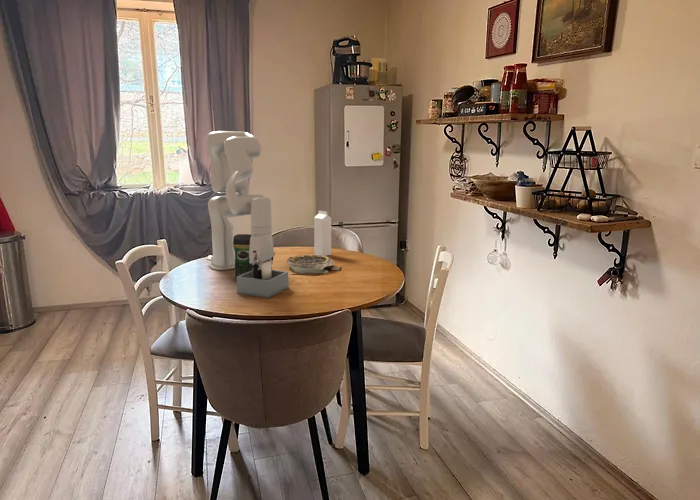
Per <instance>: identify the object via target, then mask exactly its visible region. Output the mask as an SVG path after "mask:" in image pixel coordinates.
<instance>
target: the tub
mask: <svg viewBox="0 0 700 500" xmlns="http://www.w3.org/2000/svg"><path fill="white" fill-rule="evenodd" d="M236 278H237V280H236V294H238V293H239V295H245V296H252V297H259V298H266V299H270V298H272V297H274V296H277V295H278V294H280V293H282V292H284V291H286V290H287V289H289V287H290V285H289V284H290V283H289V271H284V270H278V269H277V270H276V269H272V279H270V280H263V279H255V278H254V270H251V271H249V272H247V273H244V274H242V275H240V276H237V277H236Z"/></svg>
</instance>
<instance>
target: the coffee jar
mask: <svg viewBox="0 0 700 500" xmlns="http://www.w3.org/2000/svg"><path fill="white" fill-rule="evenodd" d="M250 238H251V234H249V233H248V234H246V233H245V234H244V233H242V234H241V233H239V234H234V238H233V247H234V250H235V268H234V273H233V274H234V279H235V280H236V281H237V278H236V277H237V276H240V275H242V274H244V273H247V272H249V271H251V270H254V269H253V267H252V266H251V264H250V263H249V261H250V258H249V249H250Z"/></svg>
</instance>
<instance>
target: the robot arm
mask: <svg viewBox="0 0 700 500" xmlns="http://www.w3.org/2000/svg"><path fill="white" fill-rule="evenodd" d="M205 147H206V151H207V154H208V156H209V161H210V185H211V189H212V191H213V192H214V193H217V194H225V195H219V196H218V195H217V196H213V197H211V198H210V199H209V200H208V201H207V202H208V203H207V209H208V214H209V218H210V219H209V220H210V226H211V242H212V244H211V245H212V246H211V247H212V255H208V256H207V257H206V261H207V262H211V263H210V264H209V268H211V269H212V270H215V271H216V270H217V271H224V270H225V271H226V270H227V271H228V270H232V269H234V270H235V250H234V247H233V238H234V236H235V230H234V225H233V224H232V223H231V221H230V220H229V218H237V217H245V216H250V230H251V234H250V235H251V238H250V249H249V258H250V261H249V263H250V264H251V266H252V267H253V269H254V278H255V279H262V270H261V264H262V262H263V261H266V260H269V261H271V266H272V267H273V262H274V261H273V260H274V257H275V255H276V253H275V251H274V241H273V240H274V239H273V224H272V223H273V221H272V200H271V199H270V198H269V197H267V196H265V195H263V194H258V193H257V194H250V192H249V191H250V186H249V185H250V183H249V178H250V177H252V175H253V174H254V167H253V165H252V161H251V159H255V158H259V157H260V156H261V153H262V146H261V143H260V140H259V139H258V138H257V137H256V136H255V135H253V134H251V133H249V132H246V131H240V130H239V131H238V130H237V131H236V130H235V131H234V130H231V131H229V130H217V131H211V132H209V133H208V134H207V136H206V138H205ZM258 260H259V261H258ZM256 263H259V264H258V265H257V264H256Z"/></svg>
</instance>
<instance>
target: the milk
mask: <svg viewBox="0 0 700 500" xmlns="http://www.w3.org/2000/svg"><path fill="white" fill-rule="evenodd" d="M313 222H314V223H313V224H314V225H313V227H314V228H313V230H314V231H313V232H314V233H313V239H314V240H313V242H314V243H313V244H314V246H313V247H314V249H313V251H314V254H313V255H325V256H327V255H329V256H332V217H331V216H330V215H329V214H328V211H325V210H318V214H316V215H315V216H314V219H313ZM327 257H328V256H327Z"/></svg>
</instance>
